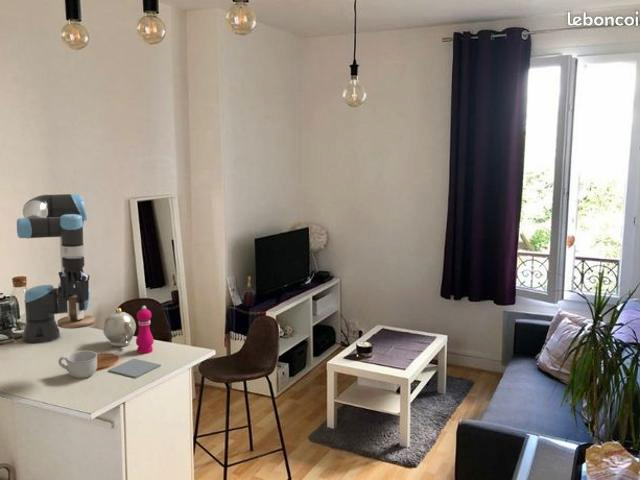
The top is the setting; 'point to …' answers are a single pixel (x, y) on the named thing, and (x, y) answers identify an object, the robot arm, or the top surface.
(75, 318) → the lid
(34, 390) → the top surface
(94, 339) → the top surface
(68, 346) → the top surface
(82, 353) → the teacup
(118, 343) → the teapot
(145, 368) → the mat
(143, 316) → the pepper mill
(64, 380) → the top surface
